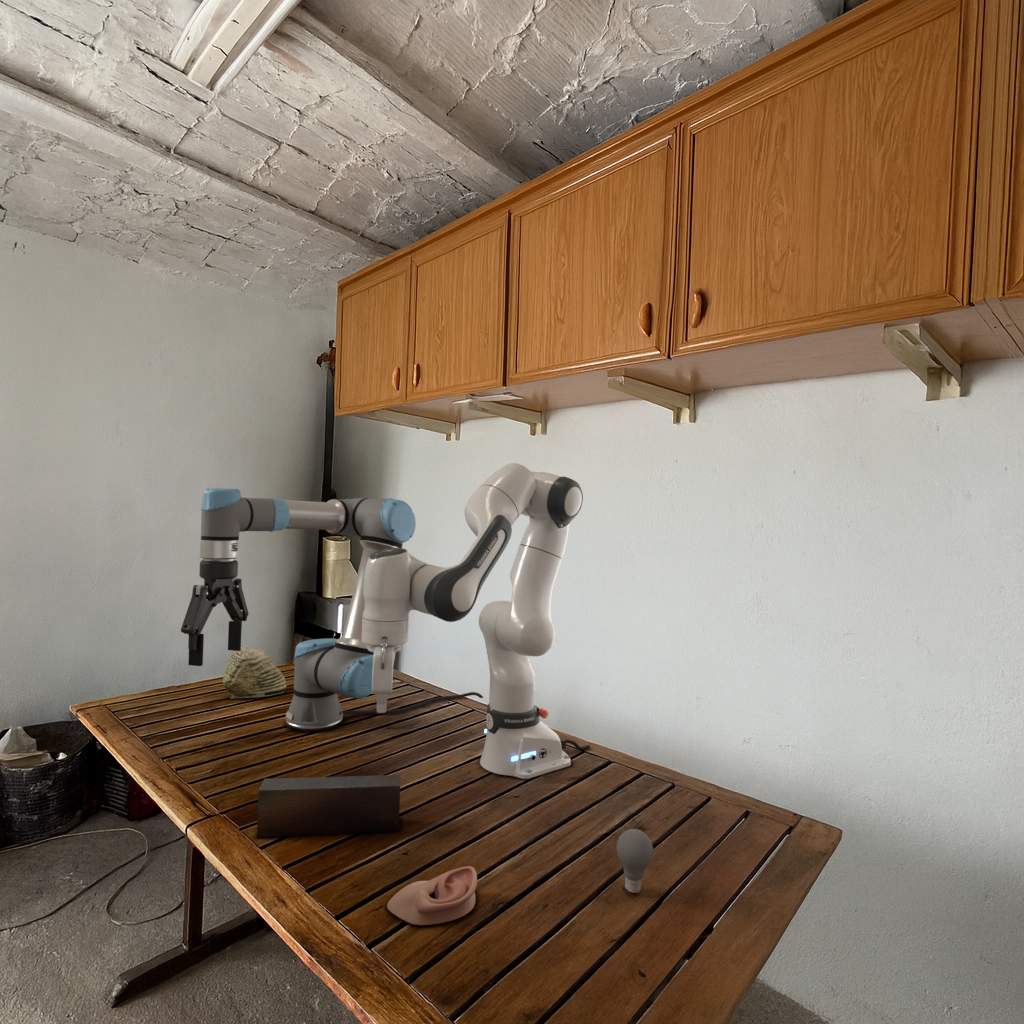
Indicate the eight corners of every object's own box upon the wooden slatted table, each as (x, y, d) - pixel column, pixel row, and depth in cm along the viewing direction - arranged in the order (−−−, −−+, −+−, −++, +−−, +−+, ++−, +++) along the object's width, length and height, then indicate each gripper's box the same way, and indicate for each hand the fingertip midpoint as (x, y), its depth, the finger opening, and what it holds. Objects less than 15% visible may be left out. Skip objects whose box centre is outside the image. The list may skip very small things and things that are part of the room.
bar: (256, 837, 117) (258, 790, 117) (262, 824, 122) (264, 778, 122) (398, 831, 121) (400, 785, 121) (398, 818, 126) (400, 774, 126)
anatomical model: (379, 892, 96) (407, 852, 107) (378, 918, 96) (406, 875, 107) (464, 907, 93) (483, 864, 104) (463, 934, 93) (482, 888, 104)
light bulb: (610, 879, 108) (613, 822, 108) (644, 879, 109) (647, 822, 109) (619, 902, 102) (622, 840, 102) (655, 901, 103) (658, 840, 103)
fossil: (218, 695, 195) (220, 647, 195) (278, 685, 208) (279, 640, 207) (228, 703, 189) (230, 653, 188) (289, 692, 201) (290, 645, 201)
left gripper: (198, 566, 124) (194, 674, 124) (266, 555, 148) (263, 645, 149) (163, 563, 125) (159, 670, 125) (236, 554, 149) (233, 643, 150)
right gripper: (401, 644, 113) (398, 722, 113) (401, 622, 133) (399, 687, 133) (365, 644, 111) (362, 722, 112) (370, 621, 132) (368, 687, 132)
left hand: (215, 657), depth 137 cm, fingers open, 13 cm apart
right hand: (382, 703), depth 123 cm, fingers open, 8 cm apart
